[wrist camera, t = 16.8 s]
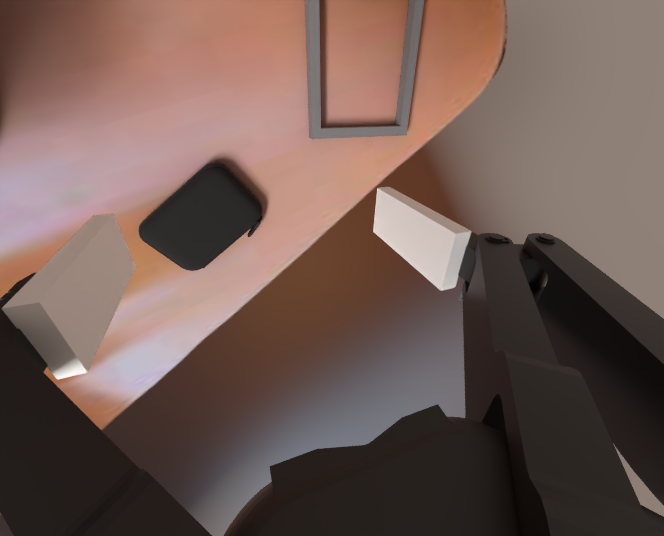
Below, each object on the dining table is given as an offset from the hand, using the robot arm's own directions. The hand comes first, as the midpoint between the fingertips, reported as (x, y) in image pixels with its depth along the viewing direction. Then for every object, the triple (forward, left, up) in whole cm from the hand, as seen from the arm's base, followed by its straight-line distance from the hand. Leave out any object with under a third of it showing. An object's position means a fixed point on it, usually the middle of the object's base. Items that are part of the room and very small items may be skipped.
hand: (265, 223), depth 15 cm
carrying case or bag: (-5, -9, -27) cm, 29 cm away
